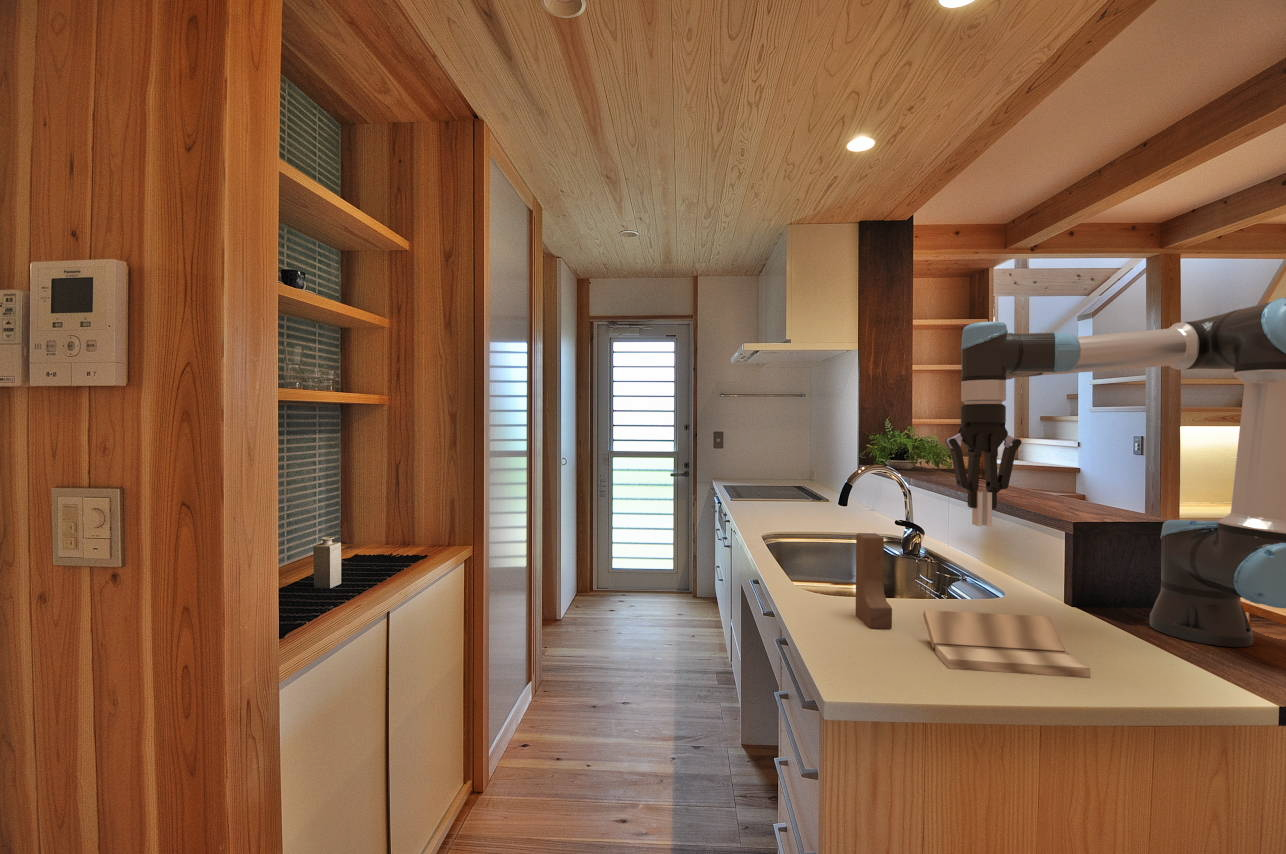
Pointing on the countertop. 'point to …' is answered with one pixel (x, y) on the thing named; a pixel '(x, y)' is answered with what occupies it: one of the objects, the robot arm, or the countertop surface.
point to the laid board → (1011, 660)
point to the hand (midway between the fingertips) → (981, 525)
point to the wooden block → (871, 582)
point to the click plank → (992, 631)
